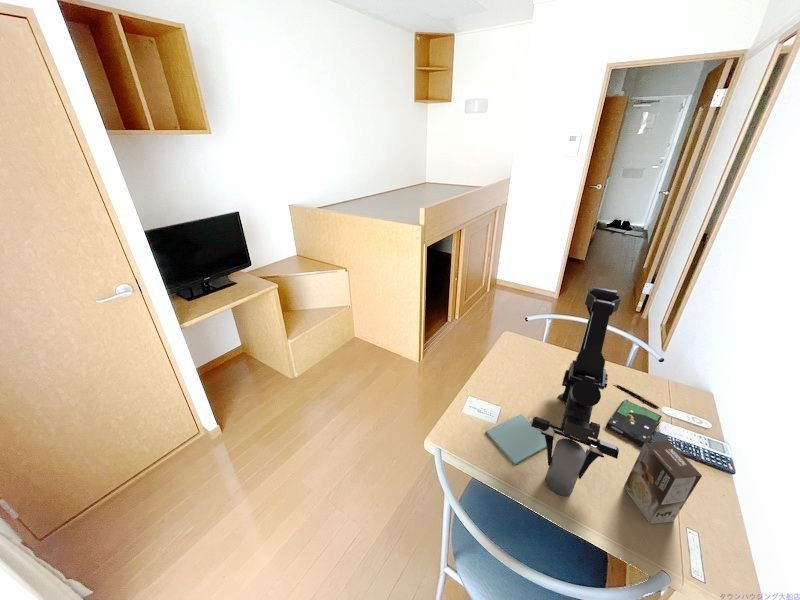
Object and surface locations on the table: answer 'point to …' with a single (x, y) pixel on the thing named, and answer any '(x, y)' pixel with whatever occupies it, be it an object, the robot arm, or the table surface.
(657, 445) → the coffee box
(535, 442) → the slate board
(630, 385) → the table surface
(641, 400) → the fountain pen
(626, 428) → the disk drive
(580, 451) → the grey domed cylinder
